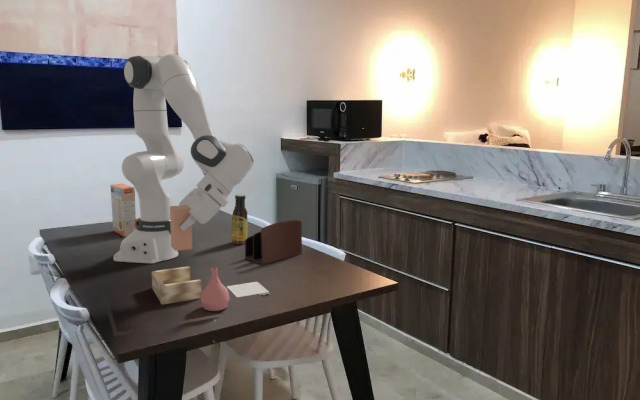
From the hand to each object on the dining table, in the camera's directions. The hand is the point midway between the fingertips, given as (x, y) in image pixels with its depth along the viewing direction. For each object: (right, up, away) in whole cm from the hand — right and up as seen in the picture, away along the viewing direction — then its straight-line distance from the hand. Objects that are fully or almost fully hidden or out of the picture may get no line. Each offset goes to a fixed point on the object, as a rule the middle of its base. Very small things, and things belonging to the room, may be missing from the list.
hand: (178, 226), depth 146 cm
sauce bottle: (+8, -10, +60) cm, 62 cm away
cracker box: (-44, -7, +73) cm, 86 cm away
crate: (-1, -20, +3) cm, 21 cm away
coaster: (+19, -20, +7) cm, 28 cm away
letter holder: (+24, -14, +43) cm, 51 cm away
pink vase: (+12, -23, -8) cm, 27 cm away
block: (0, -6, +1) cm, 6 cm away
